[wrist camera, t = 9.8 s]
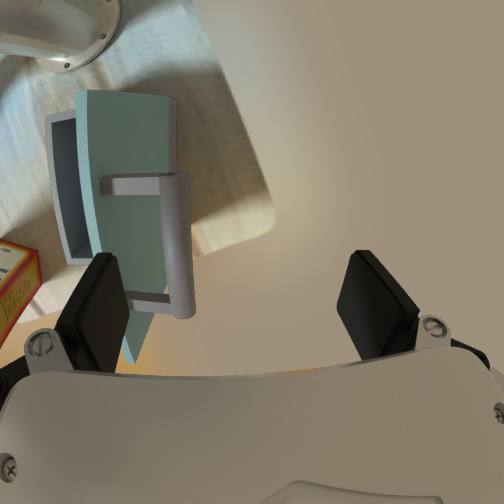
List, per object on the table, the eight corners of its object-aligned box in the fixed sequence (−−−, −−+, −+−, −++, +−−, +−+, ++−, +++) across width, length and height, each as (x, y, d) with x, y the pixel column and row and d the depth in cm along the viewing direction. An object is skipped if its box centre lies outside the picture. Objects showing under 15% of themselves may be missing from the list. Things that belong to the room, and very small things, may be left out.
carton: (83, 111, 25) (45, 116, 18) (177, 100, 27) (161, 97, 19) (94, 231, 33) (67, 264, 25) (179, 229, 34) (168, 265, 27)
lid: (76, 92, 8) (184, 76, 8) (162, 97, 19) (221, 95, 19) (126, 362, 16) (198, 372, 16) (169, 265, 27) (217, 268, 27)
